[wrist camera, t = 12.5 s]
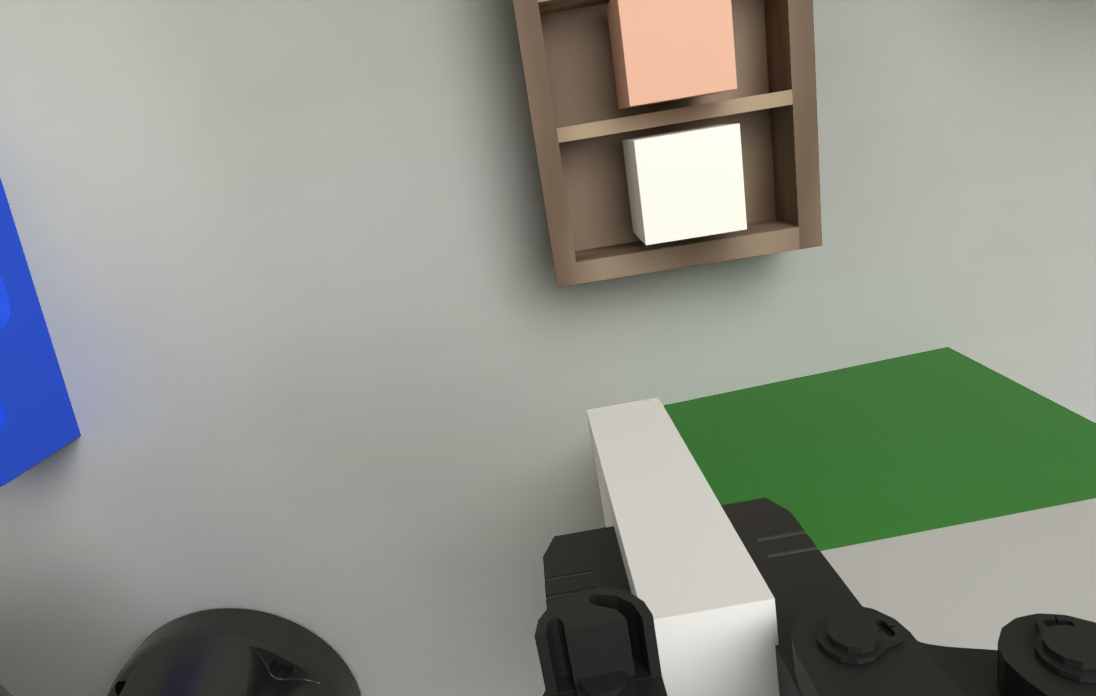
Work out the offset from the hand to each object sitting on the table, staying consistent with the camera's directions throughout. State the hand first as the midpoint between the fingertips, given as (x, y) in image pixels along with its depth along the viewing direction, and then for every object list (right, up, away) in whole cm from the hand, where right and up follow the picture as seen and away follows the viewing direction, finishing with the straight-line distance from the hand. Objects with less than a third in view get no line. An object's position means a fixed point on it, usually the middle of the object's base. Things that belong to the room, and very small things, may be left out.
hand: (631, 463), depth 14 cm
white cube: (+4, +10, +17) cm, 20 cm away
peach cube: (+3, +15, +16) cm, 22 cm away
